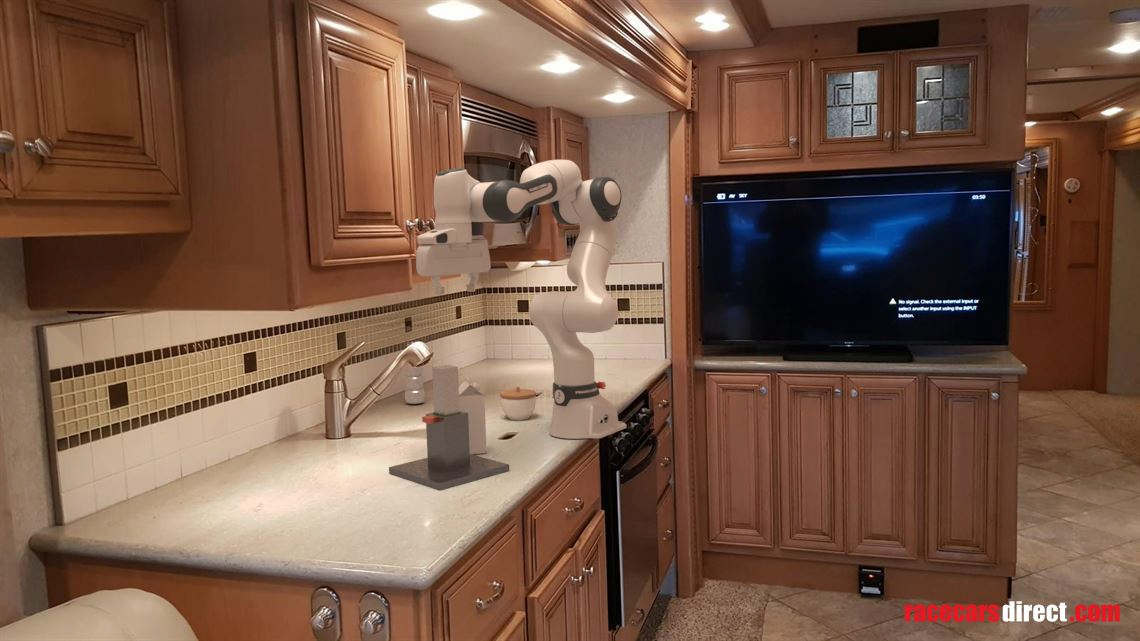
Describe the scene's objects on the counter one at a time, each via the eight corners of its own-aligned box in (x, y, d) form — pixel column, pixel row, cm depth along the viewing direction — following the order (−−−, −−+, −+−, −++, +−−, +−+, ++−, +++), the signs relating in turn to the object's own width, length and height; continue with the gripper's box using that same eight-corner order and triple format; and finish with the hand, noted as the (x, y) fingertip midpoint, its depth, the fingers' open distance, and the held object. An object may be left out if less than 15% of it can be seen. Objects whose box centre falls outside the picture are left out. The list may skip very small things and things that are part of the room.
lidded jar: (544, 416, 262) (543, 385, 261) (521, 423, 254) (520, 391, 253) (516, 412, 269) (515, 382, 268) (493, 419, 260) (492, 388, 259)
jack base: (457, 456, 219) (455, 401, 217) (509, 470, 205) (507, 412, 203) (389, 473, 205) (386, 414, 204) (440, 490, 191) (437, 427, 189)
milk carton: (458, 456, 219) (455, 381, 217) (454, 449, 226) (451, 377, 224) (486, 453, 221) (484, 379, 219) (482, 447, 228) (479, 375, 225)
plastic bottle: (419, 401, 290) (416, 341, 288) (429, 404, 285) (426, 343, 283) (401, 403, 286) (398, 343, 284) (411, 406, 281) (408, 345, 279)
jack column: (450, 439, 207) (446, 364, 205) (461, 442, 204) (458, 366, 202) (434, 443, 204) (431, 367, 202) (446, 446, 201) (442, 369, 199)
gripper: (479, 235, 221) (481, 289, 223) (411, 237, 207) (413, 295, 208) (495, 234, 217) (496, 290, 218) (426, 237, 202) (429, 296, 204)
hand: (455, 293), depth 213 cm, fingers open, 8 cm apart
